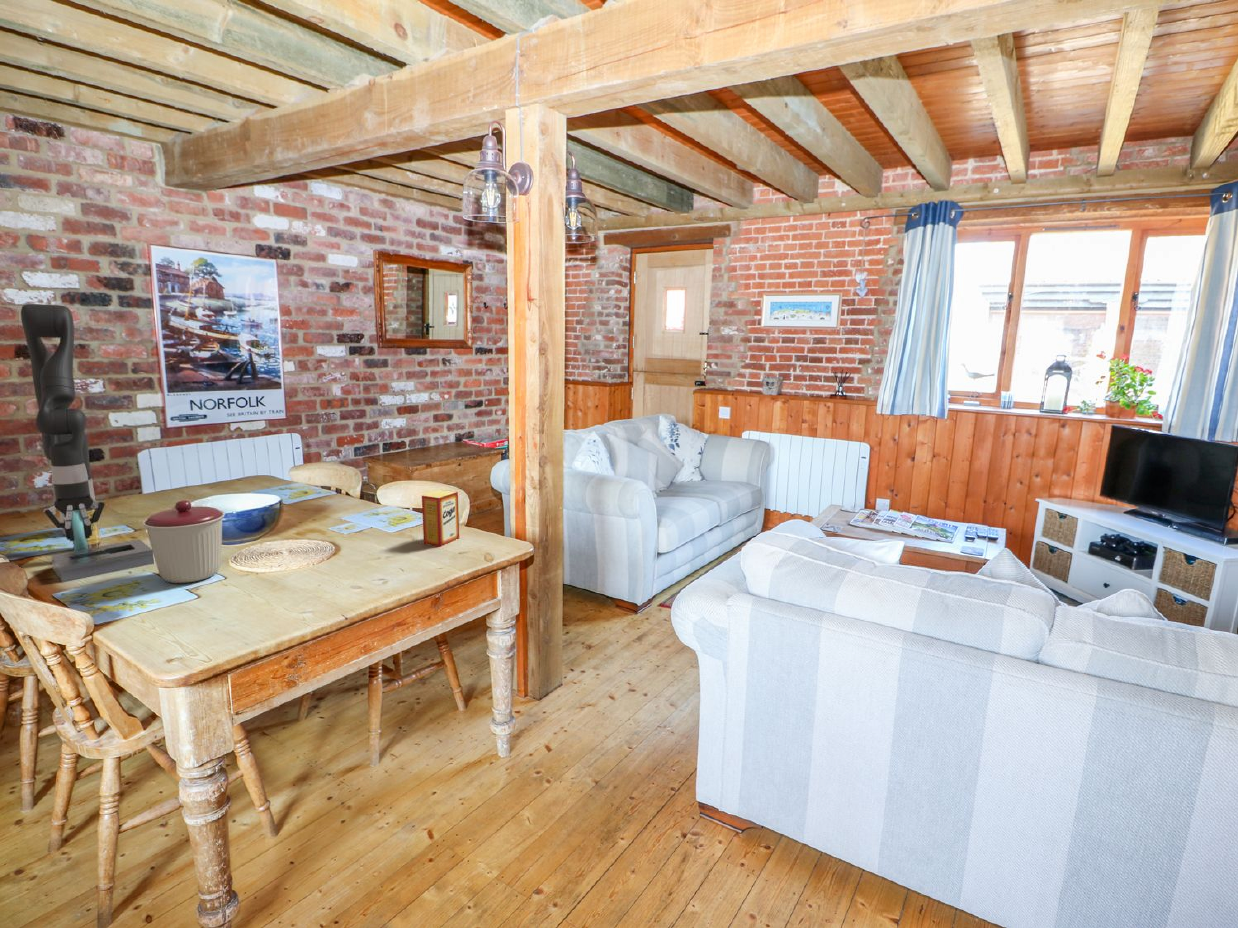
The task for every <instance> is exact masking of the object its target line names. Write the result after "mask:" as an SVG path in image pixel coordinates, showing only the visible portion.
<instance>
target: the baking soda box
mask: <svg viewBox="0 0 1238 928" xmlns="http://www.w3.org/2000/svg"><path fill="white" fill-rule="evenodd" d="M421 510H422V529H423V531H422V533H423V544H424V545H428V544H430V545H429V546H435V547H440V548H441V547H444V546H446V545H449V544H450V543H452V542H454V541H457V540H459V539H460V520H459V519H460V518H459V517H460V515H459V514H460V513H459V492H458V491H453V490H447V489H439V490H436V491H430V492H428V493H425V494H423V495H421ZM456 539H457V540H456ZM445 544H446V545H445Z"/></svg>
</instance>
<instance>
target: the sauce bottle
mask: <svg viewBox="0 0 1238 928" xmlns="http://www.w3.org/2000/svg"><path fill="white" fill-rule="evenodd" d="M94 511H95V508H94V505H93V504H92V505H91V506H90V508H89V509H88V511H87V514H88V516H89V519H90V518H92V516H93V513H94ZM98 523H99V521H98V522H95V523H92V524H91V530H92V536H90V538H87V546H88V548H93V547H99V546H101V545H100V542H101V541H100V539H101V538H100V533H99V530H100V529H99V530H98Z"/></svg>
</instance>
